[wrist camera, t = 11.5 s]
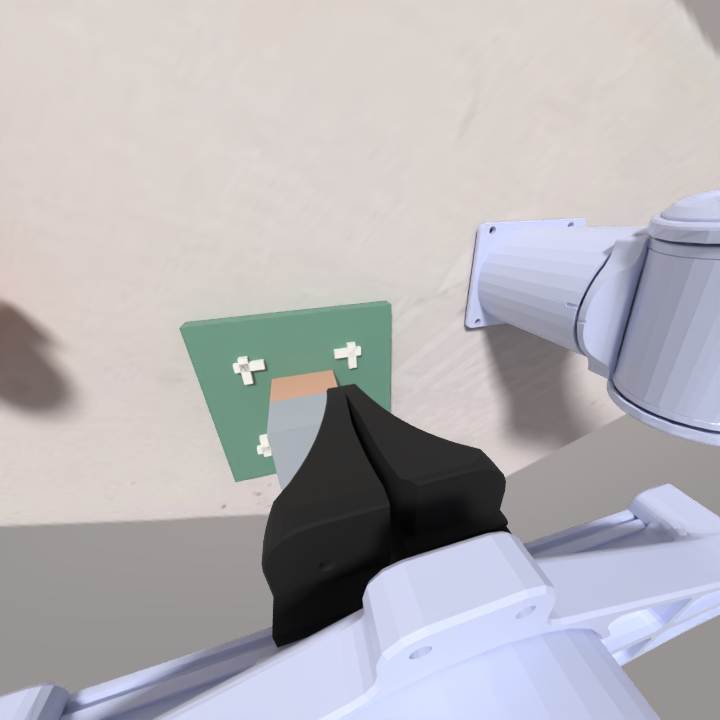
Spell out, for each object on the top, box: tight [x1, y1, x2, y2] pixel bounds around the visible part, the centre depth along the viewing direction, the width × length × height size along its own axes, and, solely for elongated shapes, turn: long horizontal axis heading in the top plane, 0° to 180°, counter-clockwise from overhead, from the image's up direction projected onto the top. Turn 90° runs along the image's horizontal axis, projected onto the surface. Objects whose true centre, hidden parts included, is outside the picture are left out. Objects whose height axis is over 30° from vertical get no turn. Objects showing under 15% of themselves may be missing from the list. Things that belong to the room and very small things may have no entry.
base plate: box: [180, 301, 391, 482], centre depth 22 cm, size 14×14×2 cm
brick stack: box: [267, 370, 338, 489], centre depth 19 cm, size 4×4×6 cm
